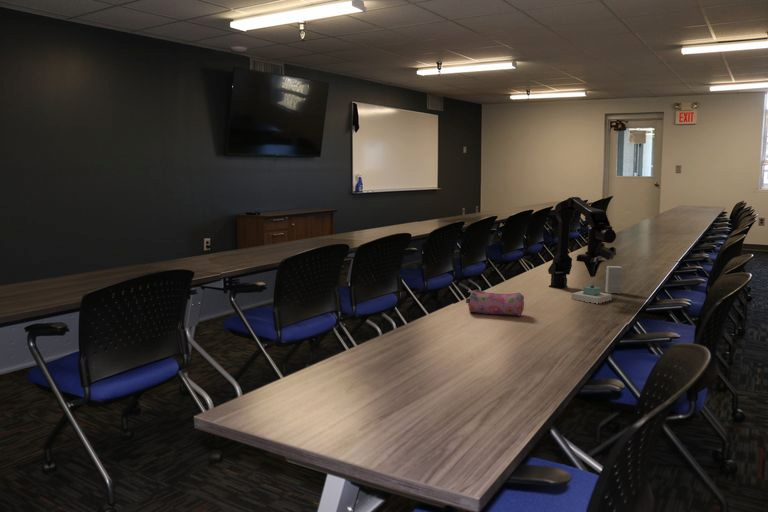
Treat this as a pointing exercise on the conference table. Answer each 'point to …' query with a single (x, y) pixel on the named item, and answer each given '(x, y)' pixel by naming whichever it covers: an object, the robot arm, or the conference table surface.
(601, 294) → the socket plate
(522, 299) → the pencil case
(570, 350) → the conference table surface
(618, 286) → the skincare box
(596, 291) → the plug
